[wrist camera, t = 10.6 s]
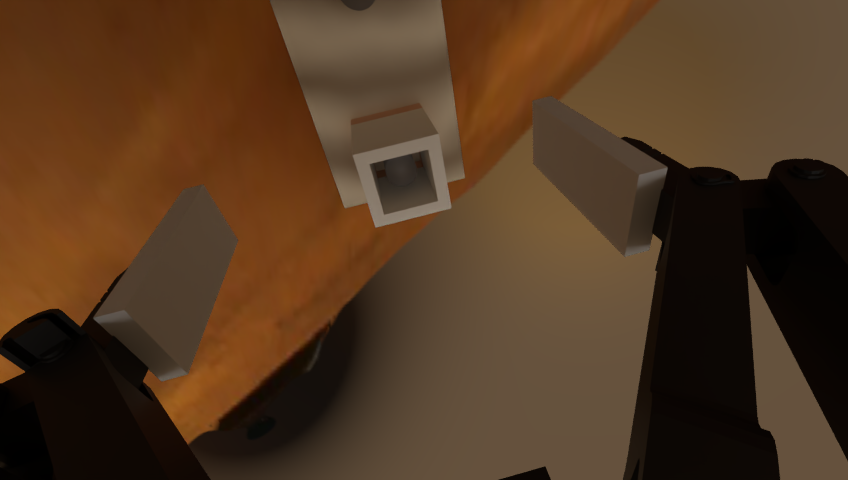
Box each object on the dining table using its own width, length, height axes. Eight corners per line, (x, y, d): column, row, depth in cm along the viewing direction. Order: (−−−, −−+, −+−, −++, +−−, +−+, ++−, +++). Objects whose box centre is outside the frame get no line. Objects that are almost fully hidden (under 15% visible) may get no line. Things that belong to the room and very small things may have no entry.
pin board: (243, -85, 25) (210, -106, 19) (419, -124, 25) (444, -157, 19) (344, 200, 38) (345, 243, 32) (461, 171, 38) (483, 208, 32)
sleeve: (350, 119, 32) (352, 155, 25) (419, 102, 32) (438, 133, 26) (369, 182, 35) (375, 227, 29) (431, 166, 36) (451, 208, 29)
